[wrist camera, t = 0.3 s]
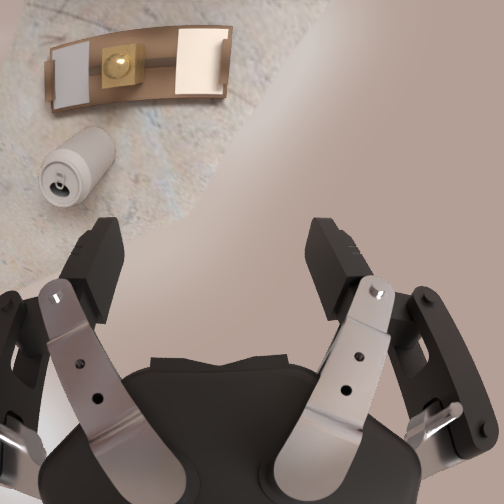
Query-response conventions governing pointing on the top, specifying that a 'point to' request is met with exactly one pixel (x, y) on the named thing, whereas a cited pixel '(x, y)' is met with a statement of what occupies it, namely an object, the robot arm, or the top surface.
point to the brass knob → (123, 65)
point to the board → (155, 69)
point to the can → (76, 167)
